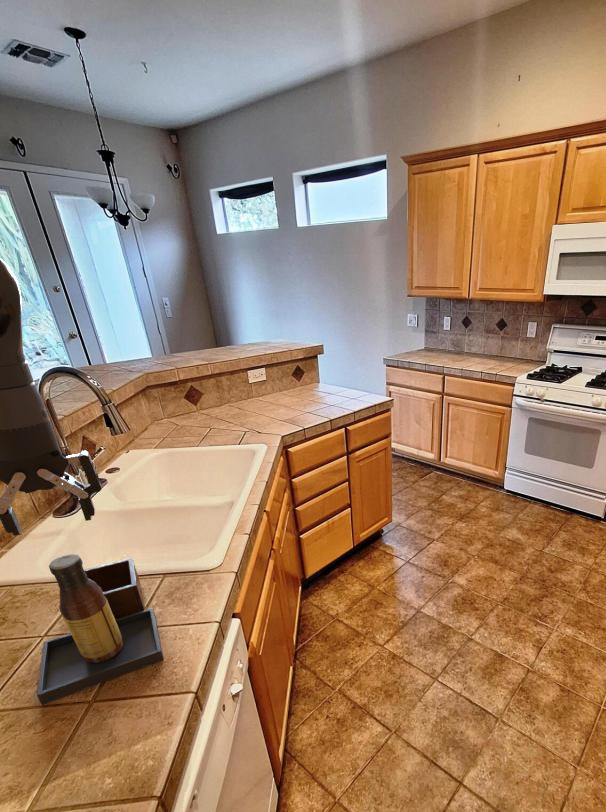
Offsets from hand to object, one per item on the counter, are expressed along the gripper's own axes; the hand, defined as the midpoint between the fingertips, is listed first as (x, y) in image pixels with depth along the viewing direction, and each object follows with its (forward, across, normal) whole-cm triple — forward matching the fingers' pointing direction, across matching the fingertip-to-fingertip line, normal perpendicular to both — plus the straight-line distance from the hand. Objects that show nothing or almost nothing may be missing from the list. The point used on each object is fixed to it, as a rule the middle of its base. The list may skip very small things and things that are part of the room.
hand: (54, 525), depth 64 cm
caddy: (+26, -2, -14) cm, 30 cm away
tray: (+26, 0, 0) cm, 26 cm away
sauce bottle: (+26, 0, 0) cm, 26 cm away
